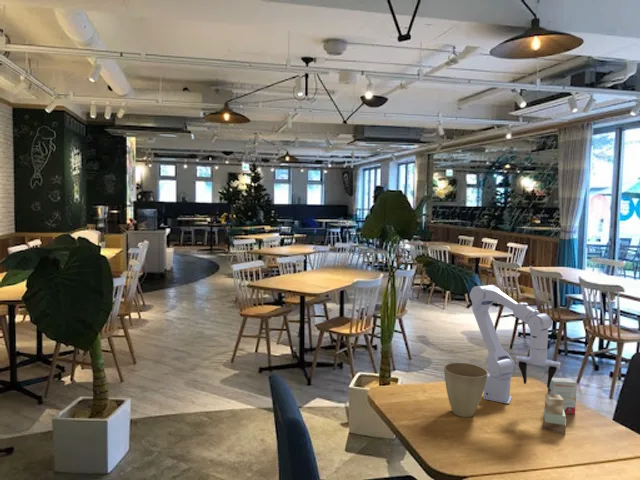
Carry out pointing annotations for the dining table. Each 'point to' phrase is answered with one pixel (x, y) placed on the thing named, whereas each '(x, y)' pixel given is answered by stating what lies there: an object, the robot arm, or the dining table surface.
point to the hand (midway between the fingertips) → (536, 384)
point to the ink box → (565, 392)
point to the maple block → (554, 404)
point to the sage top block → (554, 417)
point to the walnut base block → (553, 427)
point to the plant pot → (464, 387)
